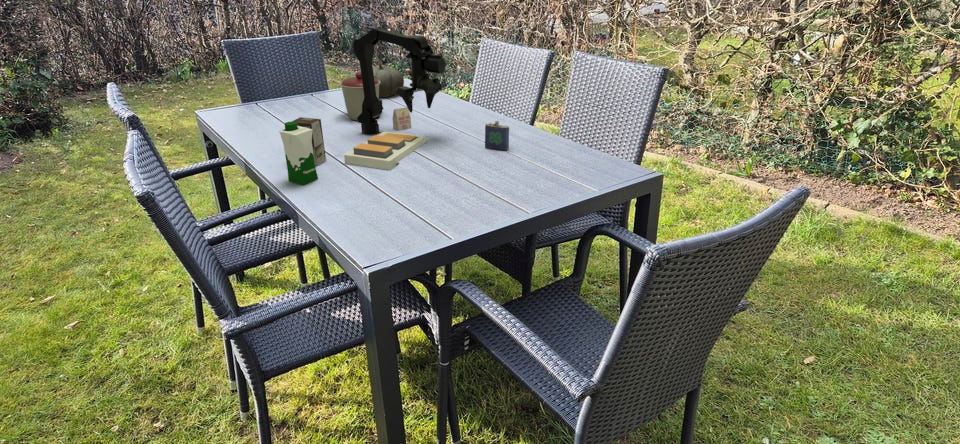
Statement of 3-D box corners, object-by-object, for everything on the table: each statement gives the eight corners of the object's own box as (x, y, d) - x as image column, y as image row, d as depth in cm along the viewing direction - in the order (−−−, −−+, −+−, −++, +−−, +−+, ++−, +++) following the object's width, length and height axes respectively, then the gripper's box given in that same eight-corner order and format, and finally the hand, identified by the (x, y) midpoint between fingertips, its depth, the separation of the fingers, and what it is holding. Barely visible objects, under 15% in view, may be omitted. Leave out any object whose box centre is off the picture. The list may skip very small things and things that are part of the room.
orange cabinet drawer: (381, 143, 231) (380, 136, 230) (388, 139, 236) (387, 132, 235) (410, 147, 227) (410, 140, 226) (416, 142, 232) (416, 136, 231)
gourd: (348, 94, 295) (350, 59, 290) (365, 91, 319) (367, 58, 314) (394, 101, 293) (397, 66, 287) (408, 97, 316) (411, 65, 311)
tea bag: (393, 131, 249) (391, 108, 245) (407, 128, 253) (406, 106, 248) (397, 133, 247) (395, 110, 242) (411, 130, 250) (410, 108, 245)
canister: (391, 116, 270) (387, 70, 260) (364, 126, 256) (360, 78, 246) (362, 110, 278) (358, 66, 269) (335, 119, 265) (329, 73, 255)
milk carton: (304, 173, 205) (295, 118, 196) (322, 178, 201) (314, 122, 192) (284, 181, 198) (275, 125, 190) (303, 187, 194) (294, 129, 185)
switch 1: (354, 154, 214) (353, 147, 212) (362, 149, 218) (361, 142, 217) (385, 158, 209) (384, 151, 208) (392, 153, 214) (392, 146, 213)
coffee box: (327, 160, 217) (321, 118, 210) (317, 166, 212) (311, 123, 204) (306, 157, 220) (300, 116, 212) (296, 163, 214) (289, 121, 207)
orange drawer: (368, 146, 222) (367, 139, 221) (375, 141, 227) (375, 135, 226) (398, 150, 218) (397, 143, 217) (405, 145, 223) (404, 138, 221)
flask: (509, 149, 228) (510, 121, 223) (507, 151, 225) (507, 123, 220) (486, 146, 231) (486, 118, 226) (483, 148, 229) (483, 120, 224)
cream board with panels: (335, 162, 215) (334, 153, 214) (376, 138, 240) (375, 130, 239) (390, 169, 208) (389, 161, 207) (426, 144, 233) (425, 136, 232)
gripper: (413, 77, 210) (414, 119, 218) (451, 70, 222) (451, 110, 229) (394, 72, 217) (396, 113, 225) (432, 65, 229) (433, 104, 236)
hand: (420, 110), depth 229 cm, fingers open, 9 cm apart
